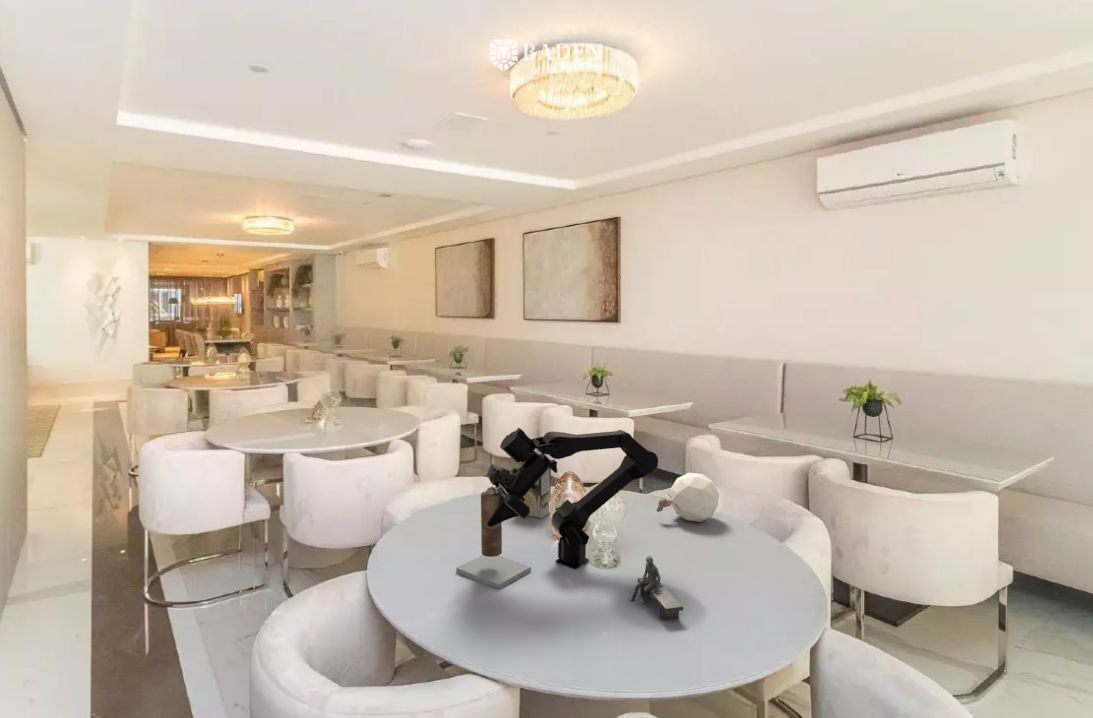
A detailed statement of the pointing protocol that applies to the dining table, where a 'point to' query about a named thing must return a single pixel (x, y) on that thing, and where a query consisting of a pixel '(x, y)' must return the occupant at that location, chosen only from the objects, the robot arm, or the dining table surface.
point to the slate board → (493, 570)
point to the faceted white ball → (692, 497)
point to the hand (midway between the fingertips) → (485, 521)
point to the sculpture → (657, 592)
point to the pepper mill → (492, 535)
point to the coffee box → (539, 496)
